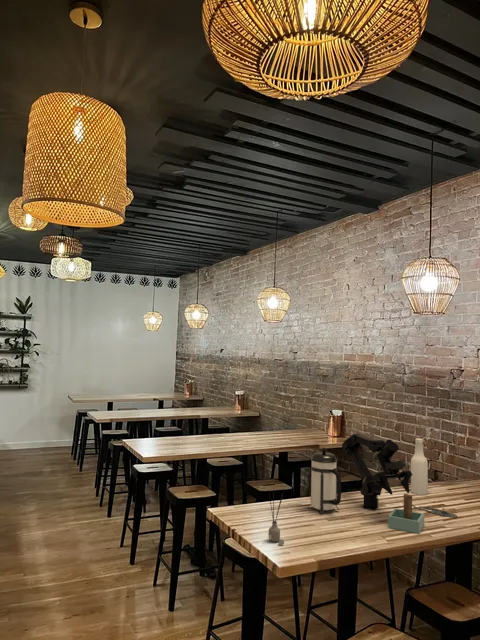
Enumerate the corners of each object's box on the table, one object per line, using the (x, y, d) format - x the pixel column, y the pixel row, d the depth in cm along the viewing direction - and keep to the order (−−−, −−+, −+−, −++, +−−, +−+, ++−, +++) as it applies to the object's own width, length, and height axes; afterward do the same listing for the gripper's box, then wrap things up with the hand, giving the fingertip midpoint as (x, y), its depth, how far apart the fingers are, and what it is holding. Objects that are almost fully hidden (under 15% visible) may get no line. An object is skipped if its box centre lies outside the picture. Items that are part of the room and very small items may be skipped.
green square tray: (388, 527, 213) (388, 516, 213) (394, 519, 224) (394, 508, 224) (419, 533, 206) (419, 521, 207) (424, 525, 217) (424, 513, 218)
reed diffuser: (262, 538, 196) (263, 488, 198) (274, 535, 201) (275, 486, 202) (279, 547, 188) (280, 494, 190) (291, 543, 193) (292, 492, 194)
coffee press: (304, 513, 230) (305, 449, 232) (312, 503, 245) (312, 444, 247) (340, 518, 224) (341, 452, 226) (346, 508, 238) (346, 447, 241)
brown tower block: (399, 523, 216) (399, 493, 217) (408, 522, 217) (408, 493, 218) (406, 527, 211) (406, 496, 212) (416, 526, 213) (416, 496, 214)
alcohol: (425, 496, 263) (425, 440, 265) (409, 493, 268) (409, 439, 270) (429, 492, 271) (429, 438, 273) (413, 490, 275) (413, 437, 278)
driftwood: (459, 518, 230) (459, 513, 230) (452, 520, 226) (452, 516, 226) (420, 507, 246) (420, 502, 247) (413, 509, 242) (413, 505, 243)
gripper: (376, 454, 223) (390, 485, 212) (410, 453, 229) (425, 483, 218) (366, 467, 230) (380, 498, 219) (399, 465, 236) (414, 495, 225)
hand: (400, 493), depth 220 cm, fingers open, 9 cm apart
